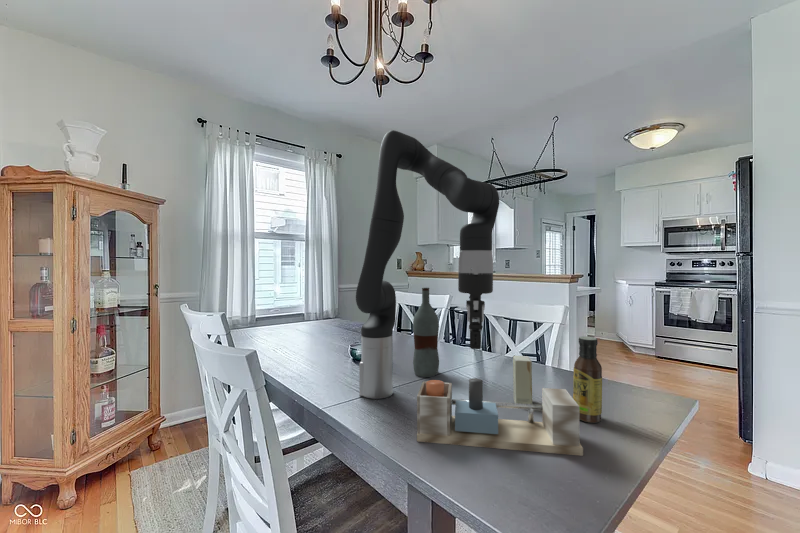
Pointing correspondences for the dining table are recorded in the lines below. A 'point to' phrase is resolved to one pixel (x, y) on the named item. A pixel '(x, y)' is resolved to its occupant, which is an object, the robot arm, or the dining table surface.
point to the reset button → (435, 388)
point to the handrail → (515, 407)
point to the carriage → (476, 411)
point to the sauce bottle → (588, 381)
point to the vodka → (425, 339)
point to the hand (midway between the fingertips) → (475, 344)
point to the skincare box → (522, 379)
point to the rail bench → (504, 425)
